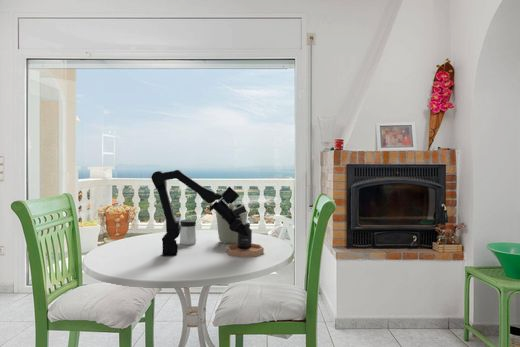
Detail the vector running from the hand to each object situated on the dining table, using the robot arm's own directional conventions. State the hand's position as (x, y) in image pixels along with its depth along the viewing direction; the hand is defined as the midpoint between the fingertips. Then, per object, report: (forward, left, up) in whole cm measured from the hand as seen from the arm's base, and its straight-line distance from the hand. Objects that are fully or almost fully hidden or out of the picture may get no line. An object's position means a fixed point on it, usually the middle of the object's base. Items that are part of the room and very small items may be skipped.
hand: (247, 234), depth 175 cm
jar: (-26, +27, -9) cm, 39 cm away
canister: (-3, +24, -9) cm, 26 cm away
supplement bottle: (-1, 0, -7) cm, 7 cm away
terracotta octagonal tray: (-1, 0, -9) cm, 9 cm away
